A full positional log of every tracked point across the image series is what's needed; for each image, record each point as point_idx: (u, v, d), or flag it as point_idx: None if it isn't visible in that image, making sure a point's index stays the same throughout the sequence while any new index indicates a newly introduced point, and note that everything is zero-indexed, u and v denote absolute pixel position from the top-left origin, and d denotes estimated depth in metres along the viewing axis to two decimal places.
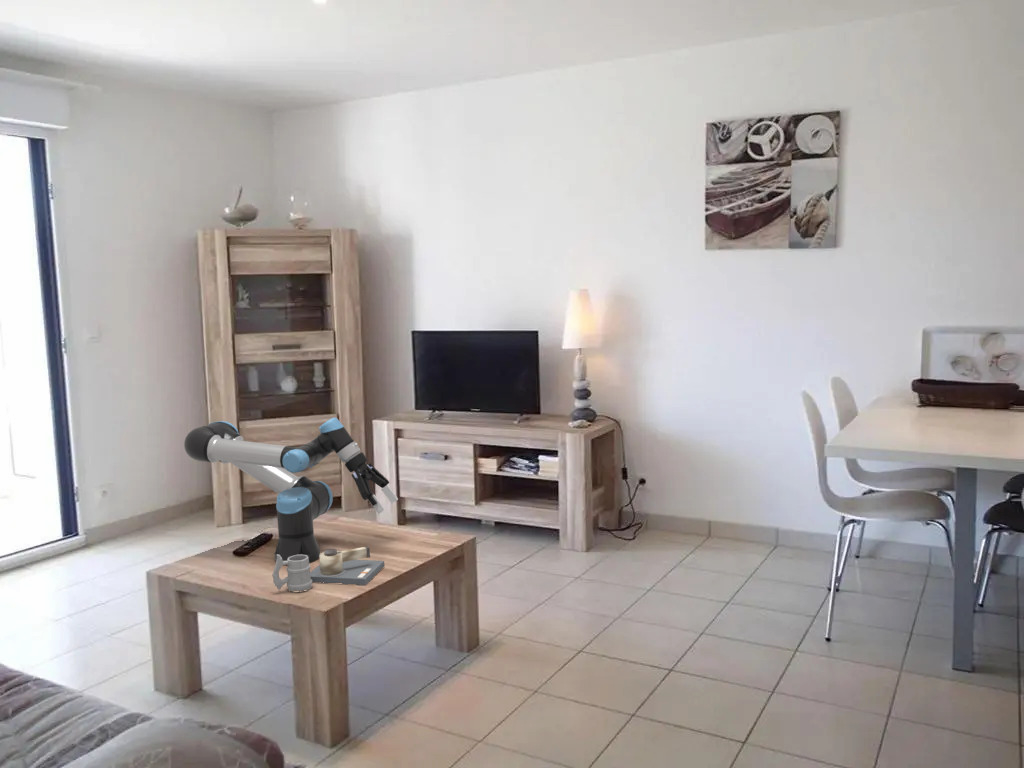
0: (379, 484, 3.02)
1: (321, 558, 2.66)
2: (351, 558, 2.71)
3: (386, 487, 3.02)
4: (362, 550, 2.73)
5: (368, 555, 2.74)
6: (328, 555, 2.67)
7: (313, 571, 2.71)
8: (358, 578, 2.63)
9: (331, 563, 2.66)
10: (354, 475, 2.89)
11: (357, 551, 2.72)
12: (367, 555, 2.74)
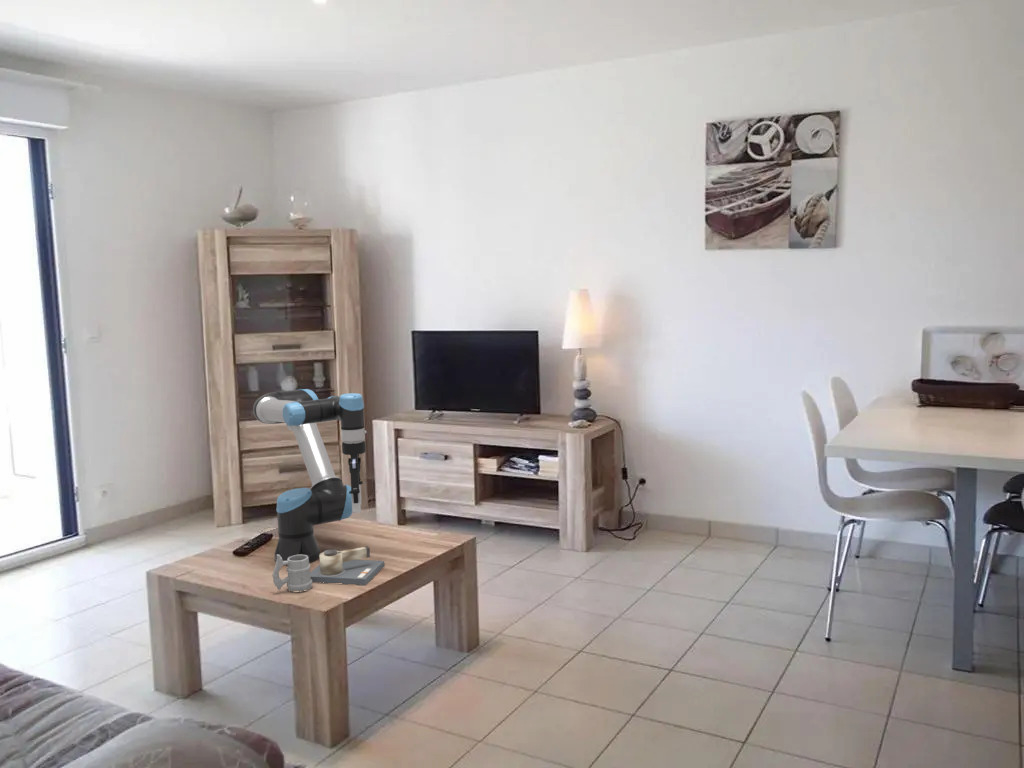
0: None
1: (321, 558, 2.66)
2: (351, 558, 2.71)
3: (358, 487, 2.82)
4: (362, 550, 2.73)
5: (368, 555, 2.74)
6: (328, 555, 2.67)
7: (313, 571, 2.71)
8: (358, 578, 2.63)
9: (331, 563, 2.66)
10: (353, 465, 2.70)
11: (357, 551, 2.72)
12: (367, 555, 2.74)
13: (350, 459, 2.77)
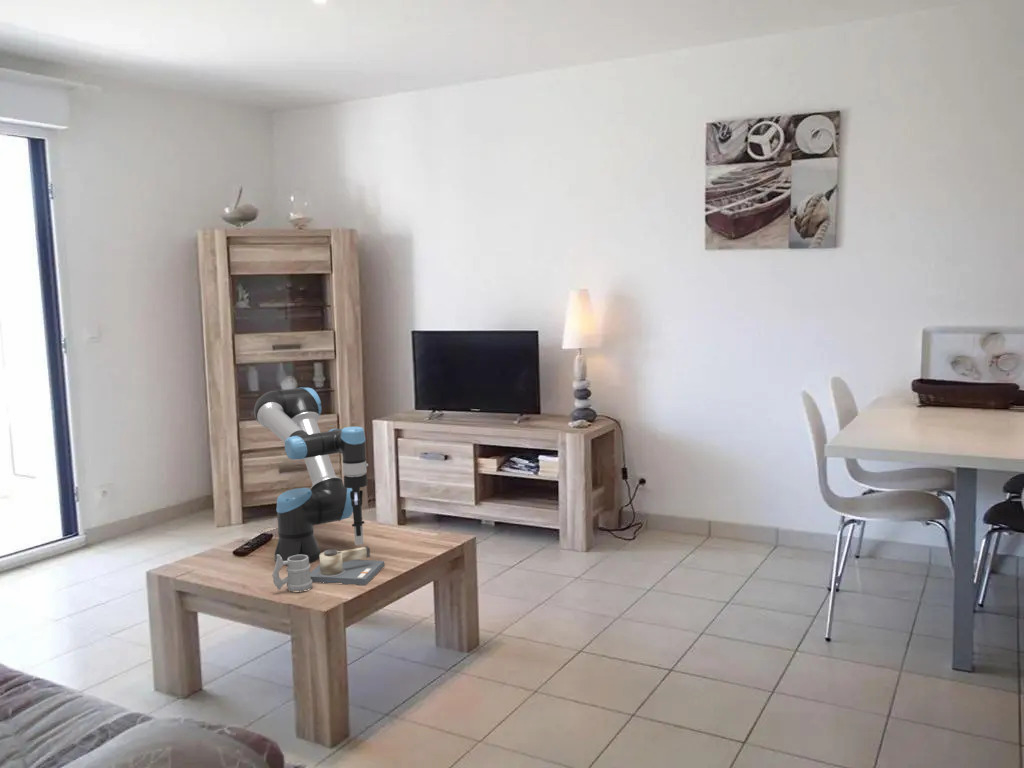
0: None
1: (321, 558, 2.66)
2: (351, 558, 2.71)
3: None
4: (362, 550, 2.73)
5: (368, 555, 2.74)
6: (328, 555, 2.67)
7: (313, 571, 2.71)
8: (358, 578, 2.63)
9: (331, 563, 2.66)
10: (356, 503, 2.72)
11: (357, 551, 2.72)
12: (367, 555, 2.74)
13: (352, 491, 2.78)
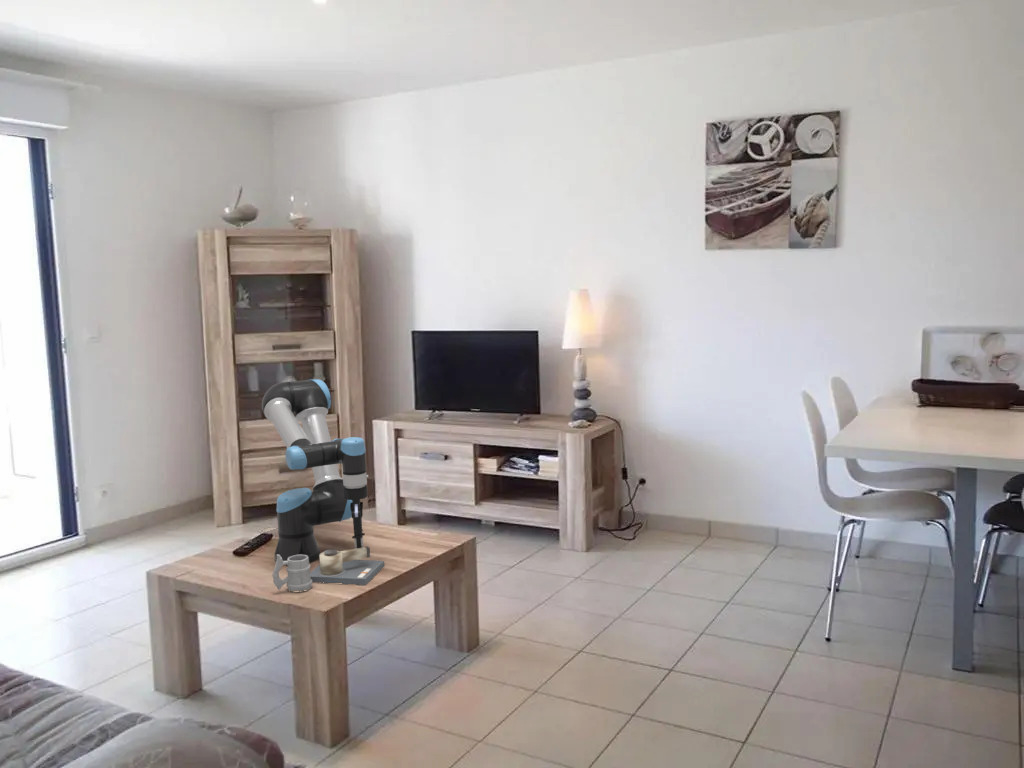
0: None
1: (321, 558, 2.66)
2: (351, 558, 2.71)
3: None
4: (362, 550, 2.72)
5: (368, 555, 2.74)
6: (328, 555, 2.67)
7: (313, 571, 2.71)
8: (358, 578, 2.63)
9: (331, 563, 2.66)
10: (356, 515, 2.68)
11: (357, 551, 2.72)
12: (367, 555, 2.73)
13: (352, 503, 2.75)
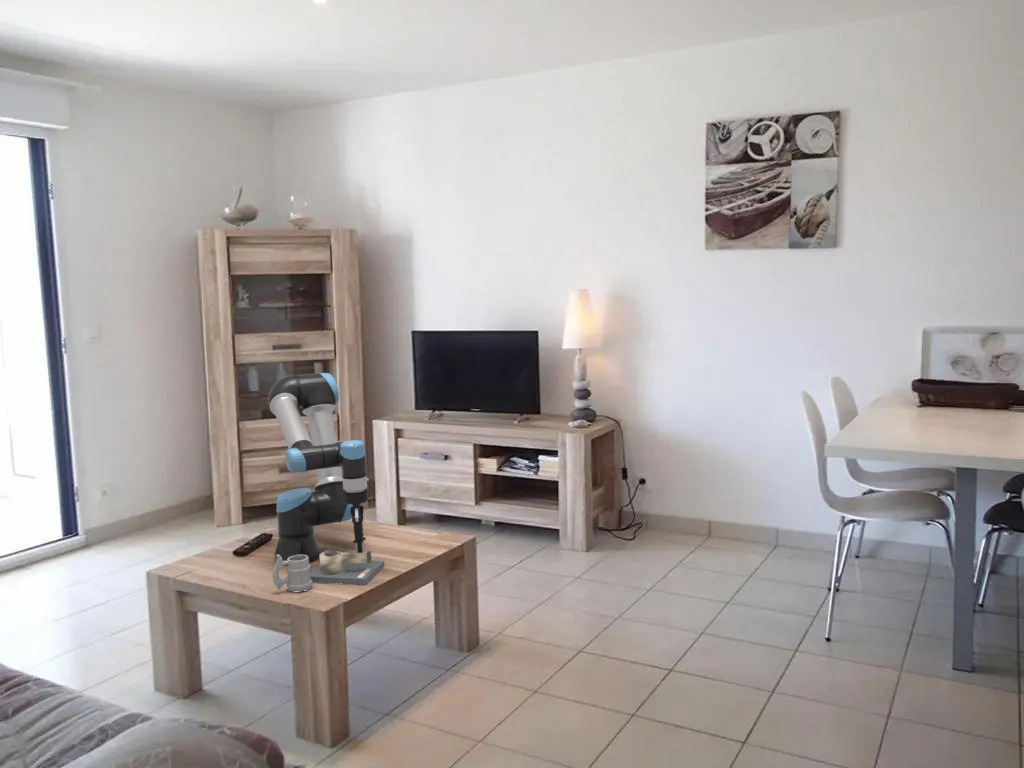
0: None
1: None
2: (350, 561, 2.68)
3: None
4: (362, 554, 2.68)
5: (368, 560, 2.69)
6: (325, 555, 2.67)
7: (313, 571, 2.71)
8: (358, 578, 2.63)
9: (326, 563, 2.66)
10: (356, 519, 2.63)
11: (357, 555, 2.68)
12: (367, 560, 2.69)
13: (352, 507, 2.70)
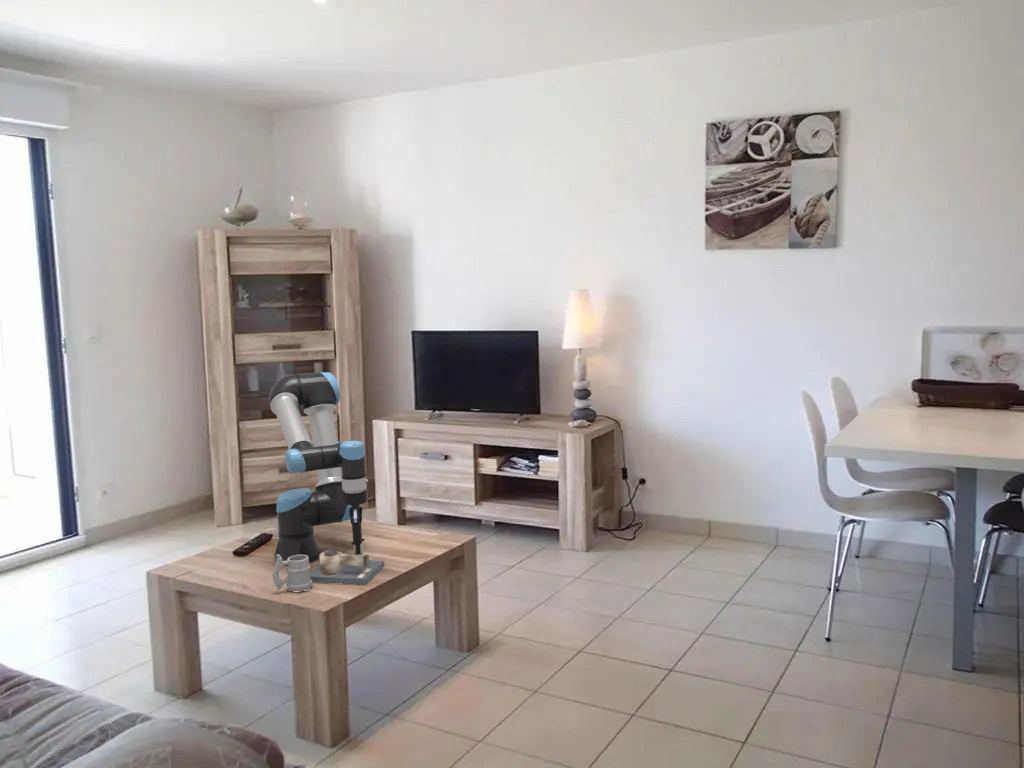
0: None
1: None
2: (348, 563, 2.67)
3: None
4: (359, 557, 2.65)
5: (364, 564, 2.65)
6: (324, 554, 2.67)
7: (313, 571, 2.71)
8: (358, 578, 2.63)
9: (323, 562, 2.66)
10: (355, 520, 2.62)
11: (354, 557, 2.66)
12: (364, 564, 2.65)
13: (351, 508, 2.68)
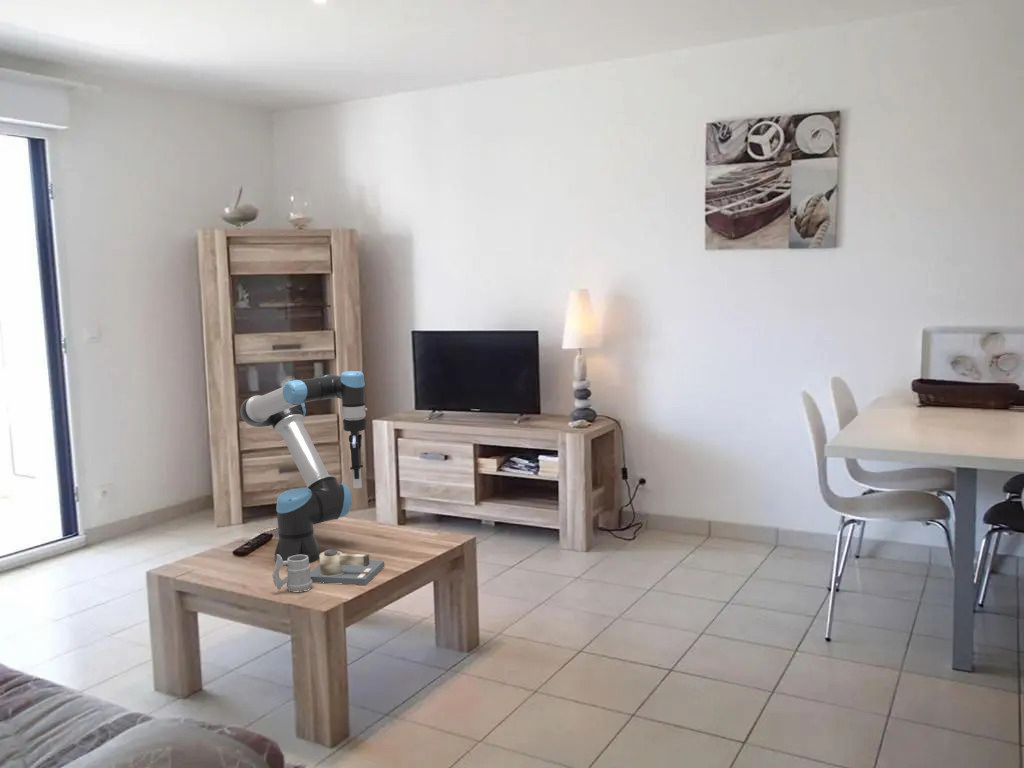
0: None
1: None
2: (348, 563, 2.67)
3: None
4: (359, 557, 2.66)
5: (365, 564, 2.65)
6: (324, 554, 2.67)
7: (313, 571, 2.71)
8: (358, 578, 2.63)
9: (323, 562, 2.66)
10: (353, 445, 2.75)
11: (354, 557, 2.66)
12: (364, 564, 2.65)
13: (351, 435, 2.82)
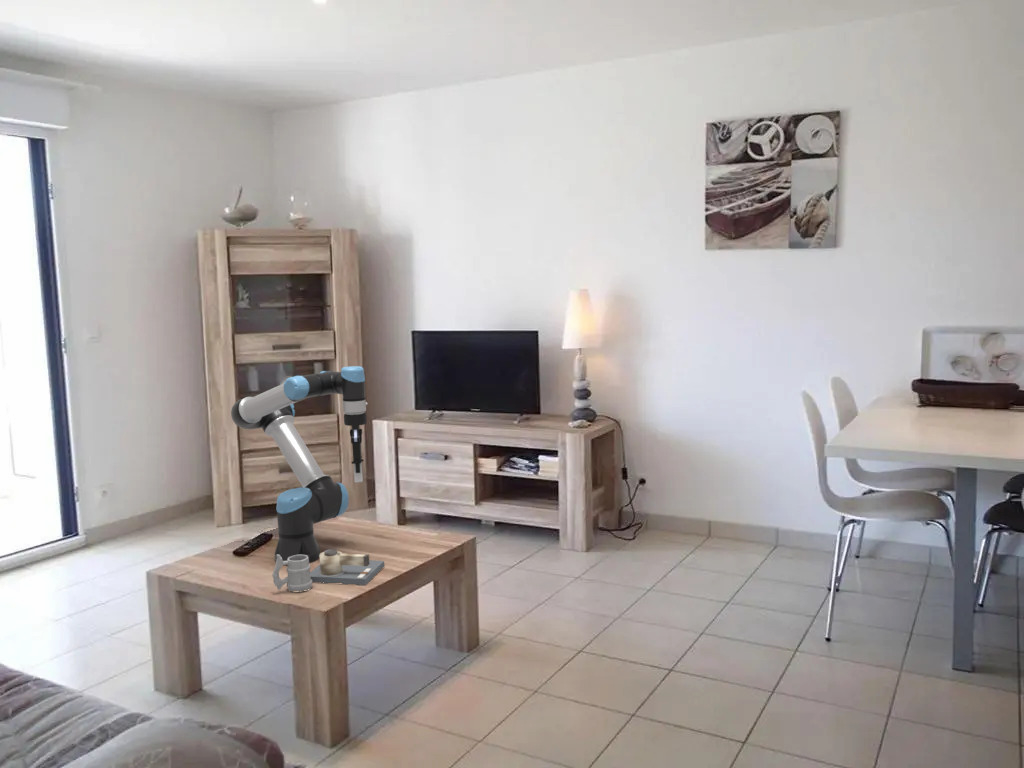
0: None
1: None
2: (348, 563, 2.67)
3: None
4: (359, 557, 2.66)
5: (365, 564, 2.65)
6: (324, 554, 2.67)
7: (313, 571, 2.71)
8: (358, 578, 2.63)
9: (323, 562, 2.66)
10: (355, 439, 2.78)
11: (354, 557, 2.66)
12: (364, 564, 2.65)
13: (352, 429, 2.85)
